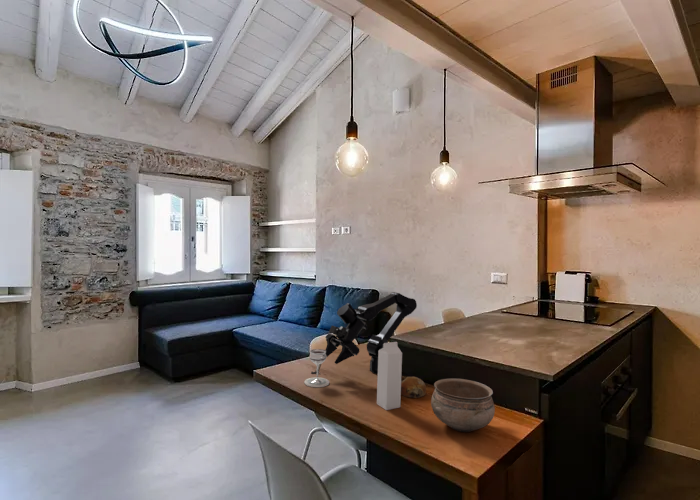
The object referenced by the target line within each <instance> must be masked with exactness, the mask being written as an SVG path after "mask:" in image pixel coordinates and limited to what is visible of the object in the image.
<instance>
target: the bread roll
mask: <svg viewBox="0 0 700 500" xmlns="http://www.w3.org/2000/svg"><path fill="white" fill-rule="evenodd" d="M426 394H427V387H426V383H425V382H424V381H423V379H421V378H419V377H417V376H407V377H405V378H404V379H403V380H401V395H402V396H403V397H405V398H410V399H411V398H413V399H418V398H422V397H424V396H425V395H426Z"/></svg>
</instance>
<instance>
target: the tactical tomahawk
mask: <svg viewBox="0 0 700 500" xmlns="http://www.w3.org/2000/svg"><path fill="white" fill-rule="evenodd" d="M321 365H322V363H321V364H320V365H319V367H318V375H320V373H319V370H320V368H321ZM310 374H311V375H317V367H316V369H315V371H311V373H310Z"/></svg>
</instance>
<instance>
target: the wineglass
mask: <svg viewBox="0 0 700 500" xmlns="http://www.w3.org/2000/svg"><path fill="white" fill-rule="evenodd" d="M309 353H310V354H309V360H310V362H311V363H313V364H314V365H315V366H316V368H317V374H316V377H317V379H313V380H311V382H313V383H322V382H323V380H321V379H318V378H319V374H318V367H319V365H320V364H321V365H322V364H323V363H324V362H325V361H326V360H327V357H326V354H325V353H326V349H321V348H317V349H316V348H314V349H310V350H309ZM321 365H320V366H321Z"/></svg>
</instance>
